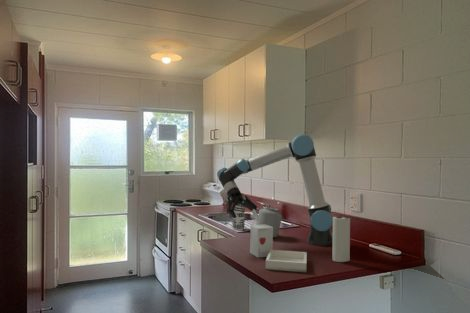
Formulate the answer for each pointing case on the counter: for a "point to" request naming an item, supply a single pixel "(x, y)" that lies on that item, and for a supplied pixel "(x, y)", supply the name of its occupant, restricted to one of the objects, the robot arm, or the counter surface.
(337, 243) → the paper towel roll
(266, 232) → the supplement box
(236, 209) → the decorative candle
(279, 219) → the jar
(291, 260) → the ceramic dish
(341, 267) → the counter surface
